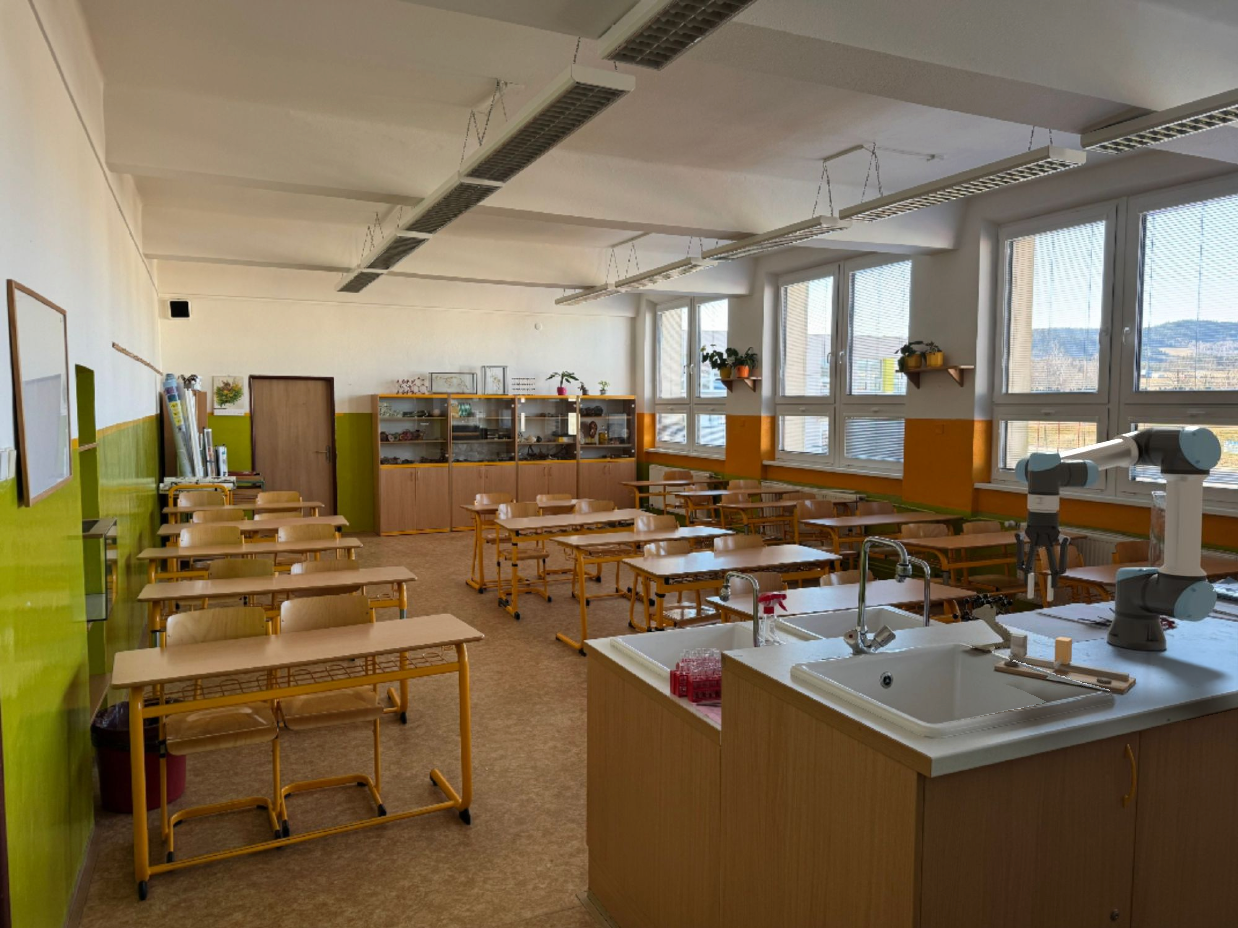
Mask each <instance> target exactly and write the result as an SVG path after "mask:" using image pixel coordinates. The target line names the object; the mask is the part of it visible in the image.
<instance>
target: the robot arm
mask: <svg viewBox="0 0 1238 928" xmlns="http://www.w3.org/2000/svg"><path fill="white" fill-rule="evenodd" d="M1221 457H1222V446H1221V442H1220V440H1219V438H1218V436H1217V435H1216V434H1215V433H1214V432H1213V431H1212V430H1211V429H1208V428H1206V427H1202V426H1194V425H1193V426H1192V425H1185V426H1161V425H1159V426H1157V425H1156V426H1151V427H1146V428H1142V429H1138V430H1137V429H1136V430H1134V431H1130V432H1127V433H1123V434H1119V435H1115V436H1113V438H1112V439H1111V440H1107V441H1104V442H1099V443H1095V444H1091V445H1087V446H1082V447H1078V448H1074V449H1069V450H1065V451H1062V452H1045V451H1044V452H1042V451H1041V452H1040V451H1038V452H1036V451H1035V452H1031V453H1030V455H1029V457H1024V458H1021V459H1019V460H1018V461H1017V462H1016V464H1015V467H1014V475H1015V478H1016V479H1017V480H1018V482H1020V483H1021V484H1025V485H1026V484H1027V505H1026V506H1027V509H1028V511H1027V512H1026V527H1025V529H1024V530H1023V531H1022V532H1017V533H1014V538H1015V541H1016V569H1017V570H1018V571H1021V572H1022V573H1023V574H1024V575H1023V584H1024V586H1027V599H1030V600H1031V599H1033V598H1034V597H1035V596H1034V595H1035V573H1034V572H1033V567H1034V562H1035V558H1036V555H1037V551H1038V549H1039V547H1044V549H1045V551H1046V556H1047V560H1048V566H1049V571H1050V574H1049V575H1047V590H1046V591H1047V592H1046V595H1047V596H1046V601H1047V602H1052V601H1053V600H1054V590H1055V589H1058V585H1059V576H1061V575H1065V574H1067V565H1068V564H1067V563H1068V547H1069V544H1070V543H1071V542H1070V541H1071V540H1072V538H1071V537H1070V536H1065V535H1063V534H1062V533H1061V531H1060V530H1059V525H1060V524H1059V521H1060V520H1059V519H1060V517H1059V516H1060V513H1058V511H1059V510H1060V495H1061V494H1060V493H1061V491H1060V489H1084V488H1092V487H1094V486H1095V485H1096V484H1097V483H1098V481H1099V478H1100V471H1103V470H1107V469H1110V468H1114V467H1122V468H1131V467H1133V466H1134V467H1135V466H1141V467H1142V466H1143V467H1144V466H1145V467H1157V468H1158V467H1159V469H1160V470H1159V472H1160V473H1159V474H1160V475H1161V476H1162V477H1163V478H1164V480H1166V481H1165V483H1166V485H1165V487H1166V488H1165V489H1166V490H1165V512H1164V513H1165V516H1164V517H1165V518H1164V519H1165V521H1164V548H1163V549H1164V550H1163V551H1164V552H1163V554H1164V555H1163V556H1164V557H1163V564H1162V566H1160V567H1152V566H1151V567H1150V566H1149V567H1148V566H1147V567H1144V566H1141V567H1140V566H1138V567H1137V566H1136V567H1135V566H1133V567H1131V566H1130V567H1129V566H1128V567H1121V568H1119V569H1117V571H1116V574H1115V581H1114V585H1115V586H1114V617H1113V619H1112V622H1111V624H1110V627H1109V629H1108V630H1107V634H1106V635H1107V637H1106V641H1107V643H1109V644H1111V645H1113V646H1116V647H1120V648H1125V649H1130V650H1131V649H1132V650H1139V651H1163V650H1166V649H1167V638H1166V634H1165V632H1164V629H1163V626H1162V623H1161V616H1164V617H1168V618H1172V619H1177V620H1178V621H1186V622H1193V623H1198V622H1201V621H1204V620H1205V619H1206V618H1208V617H1209V615H1210V614H1212V612H1213V611H1214V608H1215V607H1216V604H1217V600H1218V599H1217V598H1218V595H1217V590H1216V589H1215V586H1214V585H1213V584H1211V583H1210V582H1209V581H1207V579H1208V577H1207V576H1208V574H1207V572H1206V571H1205V570H1204V569H1203V568H1202V567H1201V558H1202V553H1201V552H1202V530H1203V529H1202V526H1203V523H1202V522H1203V521H1202V519H1203V495H1204V494H1203V493H1204V492H1203V491H1204V489H1203V488H1204V481H1205V480H1206V479H1207V478H1209V477H1210V476H1211V470H1212V469H1213V468H1215V467H1216V466H1218V465H1219V462H1220V460H1221ZM1026 537H1027V539H1028V540H1029V541H1030V542H1029V543H1030V544H1029V549H1028V554H1027V557H1026V561H1025V540H1026ZM1057 540H1058V541H1059V543H1060V545H1059V546H1060V547H1059V555H1058V556H1059V559H1058V563H1057V559H1056V553H1055V545H1054V543H1055V542H1056V541H1057Z"/></svg>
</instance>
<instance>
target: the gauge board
mask: <svg viewBox="0 0 1238 928" xmlns="http://www.w3.org/2000/svg"><path fill="white" fill-rule="evenodd" d="M1007 658H1009V659H1010V661H1005V659H1004V660H1002V661H1000V662H999V663H996V664H995V665H994V671H999V672H1003V673H1008V674H1012V675H1013V674H1014V675H1020V676H1025V677H1030V678H1036V679H1039V680H1040V679H1041V680H1046V678H1047V677H1048V675H1045V674H1043V673H1040V672H1037V671H1034V670H1031V669H1028V668H1026V667H1022V666H1019V665H1018V663H1016V662H1012V661H1013V660H1016V661H1018V662H1021V663H1026V664H1027V665H1031V666H1032V667H1035V668H1040V669H1042V670H1045V671H1049V672H1050V673H1055V674H1056V675H1060V676H1065V677H1066V678H1070V679H1071V680H1076V681H1080V682H1082V683H1087V684H1092V685H1095V686H1099V687H1101V688H1105V689H1109V690H1110V691H1112V692H1111V693H1114V694H1121V695H1124V694H1126V693H1127V692H1128V691H1129V690H1130V689H1131V688H1133V686H1135V685H1136V683H1137V677H1130V673H1127V672H1124V671H1123V672H1122V671H1118V670H1111V669H1105V668H1099V667H1094V666H1088V665H1082V664H1075V663H1071V662H1070V663H1068V664H1062V663H1061V664H1060V665H1058V669H1055V666H1053V663H1054V662H1055V659H1054V660H1053V659H1049V658H1048V659H1047V658H1041V657H1036V656H1031V655H1030V656H1029V655H1028V634H1026V633H1020V632H1014V633H1013V634H1012V635H1011V646H1010V653H1009V654H1008V655H1007ZM1046 681H1047V680H1046Z"/></svg>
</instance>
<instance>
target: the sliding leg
mask: <svg viewBox="0 0 1238 928" xmlns="http://www.w3.org/2000/svg"><path fill="white" fill-rule="evenodd" d="M1054 640H1055V641H1054V661H1055V662H1054V663H1053V666H1055V669H1058V665H1060V664H1061V663H1062V664H1068V663H1071V662H1072V661H1073V660H1072V657H1073V656H1072V655H1073V638H1070V637H1064V636H1058V637H1057V638H1055V639H1054Z"/></svg>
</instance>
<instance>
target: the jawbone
mask: <svg viewBox="0 0 1238 928" xmlns="http://www.w3.org/2000/svg"><path fill="white" fill-rule="evenodd" d="M992 607H993V608H991V605H990V604H984V605H983V606H982V607H978V608H976V609H973V610H972V611H971V614H972V616H973V617H975V618H978V619H980V620H982V621H983V622H985V624H986V625H987V626H988V627H989V628H990V629H991V630H992V631H993V632H994V633H995V634H996V635H998V636H999V637H1000V638H1001V639H1002V641H1001V642H993V643H987V644H980V645H979V644H970V646H972V647H971V648H973V647H975V648H974V649H979V650H984V651H990V652H991V651H995V652H996V649H1003V648H1002V647H1006V648H1008V647H1011V635H1012V634H1014V633H1012V632H1011V631H1010V630H1009V629H1008V628H1006V627H1005V626H1003V625H1004V624H1001V623H1000V622H999V621H996V619H997V618H996V617H997V616H996V615H997V607H996V606H995V605H993V606H992ZM994 647H995V648H994ZM998 647H1000V648H998Z"/></svg>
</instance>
